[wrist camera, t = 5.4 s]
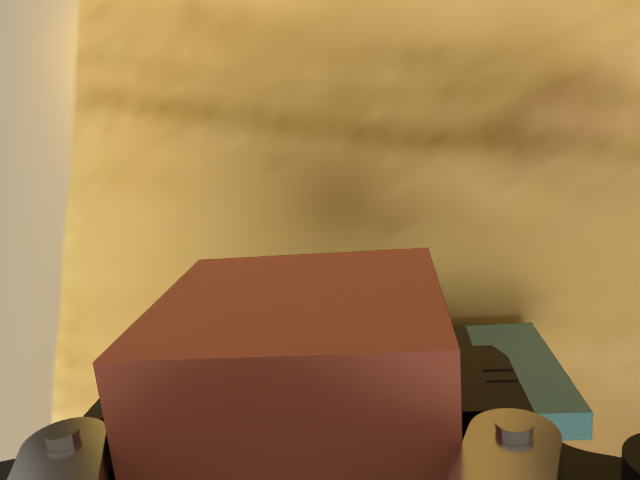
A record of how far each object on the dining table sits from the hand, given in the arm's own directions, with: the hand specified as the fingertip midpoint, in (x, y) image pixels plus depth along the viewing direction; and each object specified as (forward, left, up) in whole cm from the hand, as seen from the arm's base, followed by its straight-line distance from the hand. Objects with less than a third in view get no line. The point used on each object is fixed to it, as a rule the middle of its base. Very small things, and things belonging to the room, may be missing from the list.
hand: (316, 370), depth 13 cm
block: (0, 0, 0) cm, 0 cm away
